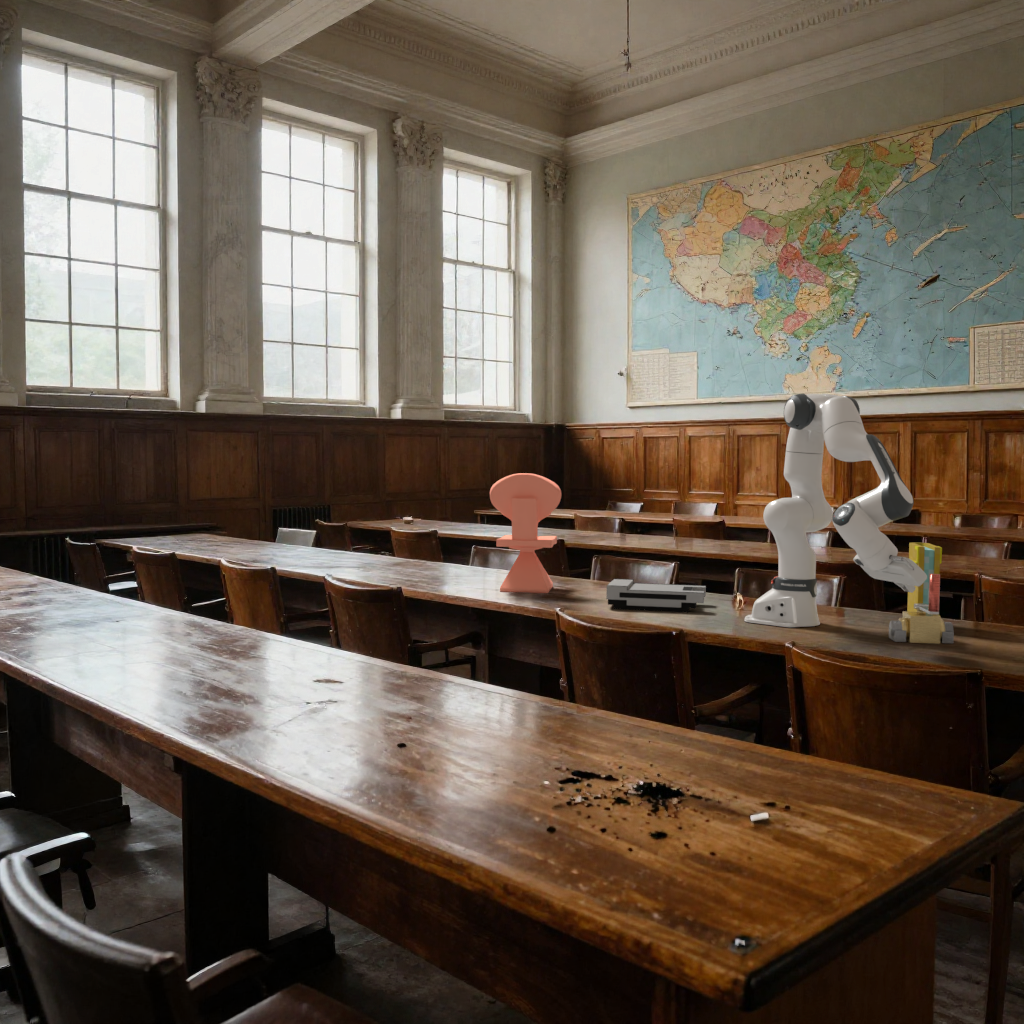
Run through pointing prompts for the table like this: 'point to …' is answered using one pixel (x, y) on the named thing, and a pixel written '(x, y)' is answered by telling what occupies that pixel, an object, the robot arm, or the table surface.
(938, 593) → the lever
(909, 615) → the valve body
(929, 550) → the book
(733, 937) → the table surface
